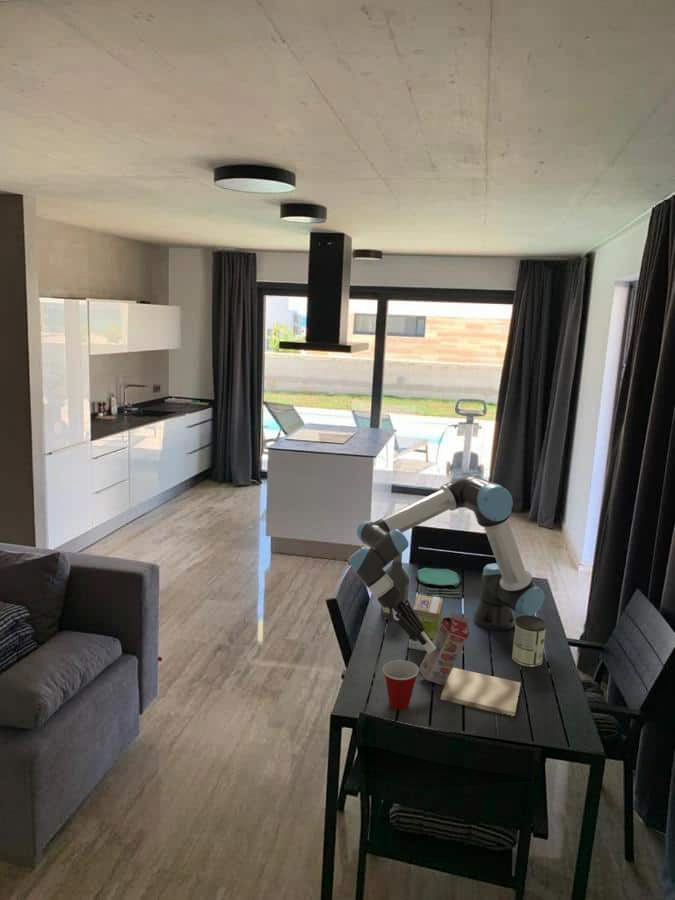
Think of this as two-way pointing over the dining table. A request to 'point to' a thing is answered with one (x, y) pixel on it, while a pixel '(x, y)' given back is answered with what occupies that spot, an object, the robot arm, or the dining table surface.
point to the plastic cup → (400, 682)
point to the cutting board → (482, 691)
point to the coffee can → (529, 640)
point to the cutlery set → (439, 580)
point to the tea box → (427, 617)
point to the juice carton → (445, 649)
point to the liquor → (397, 583)
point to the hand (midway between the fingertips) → (432, 650)
